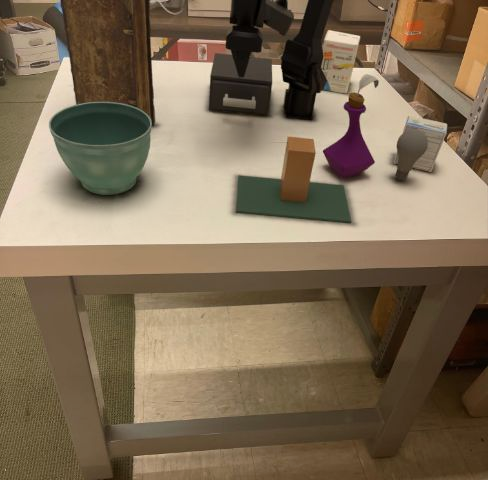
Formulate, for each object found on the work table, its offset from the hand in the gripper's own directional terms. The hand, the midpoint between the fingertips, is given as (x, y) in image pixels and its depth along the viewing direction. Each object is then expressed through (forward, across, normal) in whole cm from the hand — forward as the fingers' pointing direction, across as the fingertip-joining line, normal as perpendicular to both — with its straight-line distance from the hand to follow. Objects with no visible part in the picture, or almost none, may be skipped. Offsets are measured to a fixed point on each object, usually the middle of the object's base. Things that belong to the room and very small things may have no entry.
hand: (241, 76), depth 96 cm
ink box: (+12, +35, -24) cm, 44 cm away
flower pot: (+12, -23, +22) cm, 34 cm away
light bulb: (+12, -12, -33) cm, 37 cm away
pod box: (+12, -22, -11) cm, 27 cm away
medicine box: (+12, -5, -37) cm, 39 cm away
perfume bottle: (+12, -11, -22) cm, 27 cm away
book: (+12, +2, +26) cm, 29 cm away
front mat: (+12, -23, -11) cm, 28 cm away
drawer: (+11, +15, 0) cm, 19 cm away
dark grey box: (+12, +19, 0) cm, 22 cm away
